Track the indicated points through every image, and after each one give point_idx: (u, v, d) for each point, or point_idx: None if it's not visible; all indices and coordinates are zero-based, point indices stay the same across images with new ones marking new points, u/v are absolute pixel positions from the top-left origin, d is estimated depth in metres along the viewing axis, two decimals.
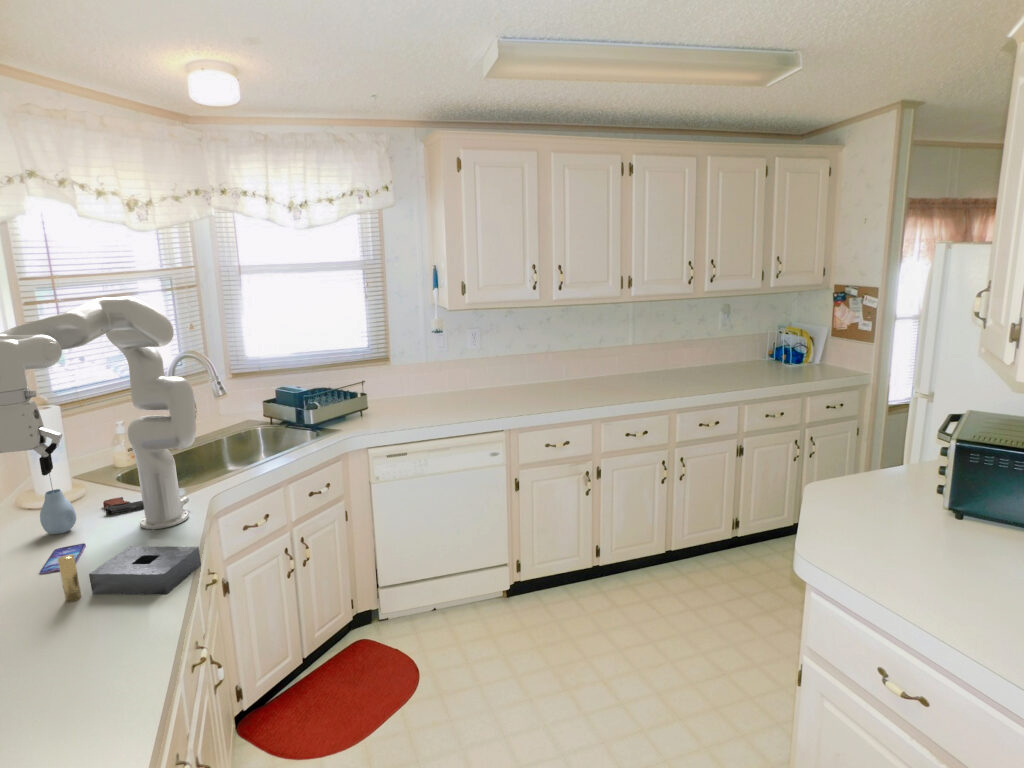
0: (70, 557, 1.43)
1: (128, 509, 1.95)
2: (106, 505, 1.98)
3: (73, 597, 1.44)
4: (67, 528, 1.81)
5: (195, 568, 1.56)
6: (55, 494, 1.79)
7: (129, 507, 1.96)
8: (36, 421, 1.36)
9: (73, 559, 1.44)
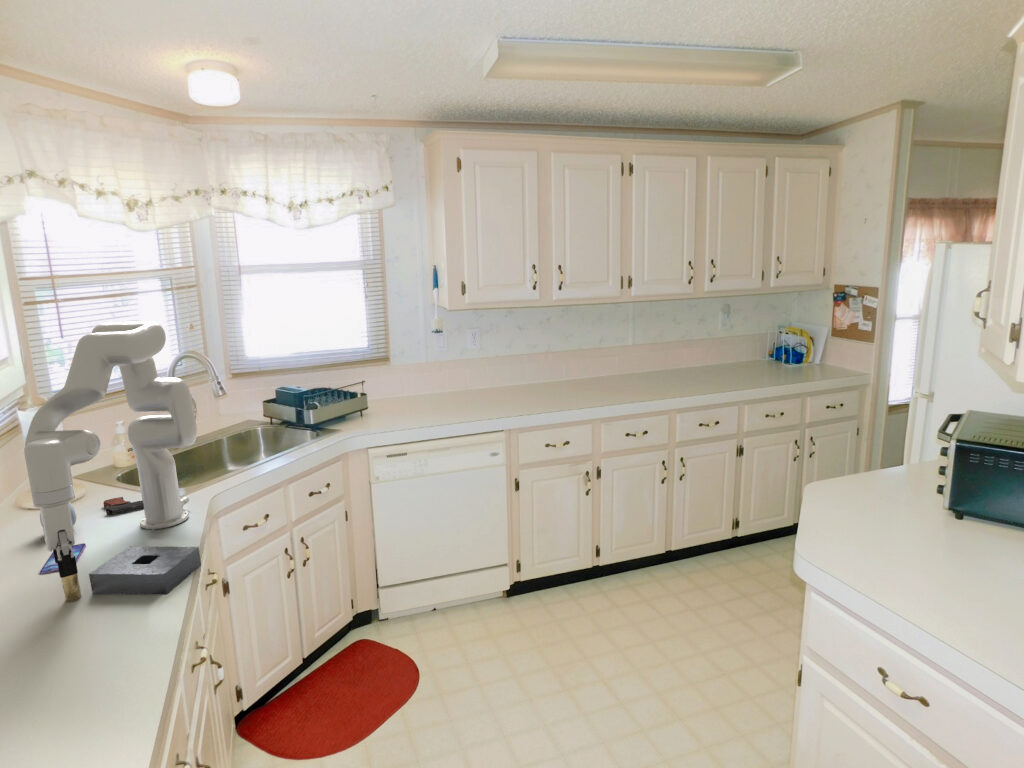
0: None
1: (129, 509, 1.95)
2: (106, 505, 1.98)
3: (73, 597, 1.44)
4: None
5: (195, 568, 1.56)
6: None
7: (130, 507, 1.96)
8: None
9: None
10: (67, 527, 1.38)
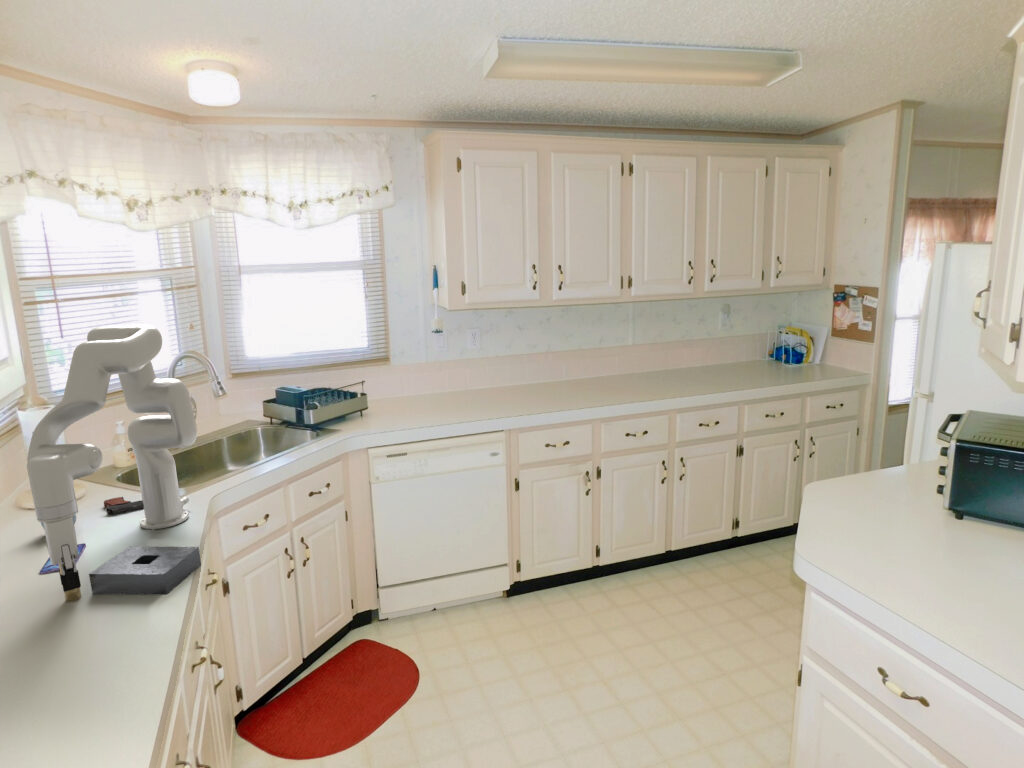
0: None
1: (129, 509, 1.96)
2: (107, 505, 1.98)
3: (73, 597, 1.44)
4: None
5: (195, 568, 1.56)
6: None
7: (130, 507, 1.96)
8: None
9: None
10: (71, 542, 1.39)
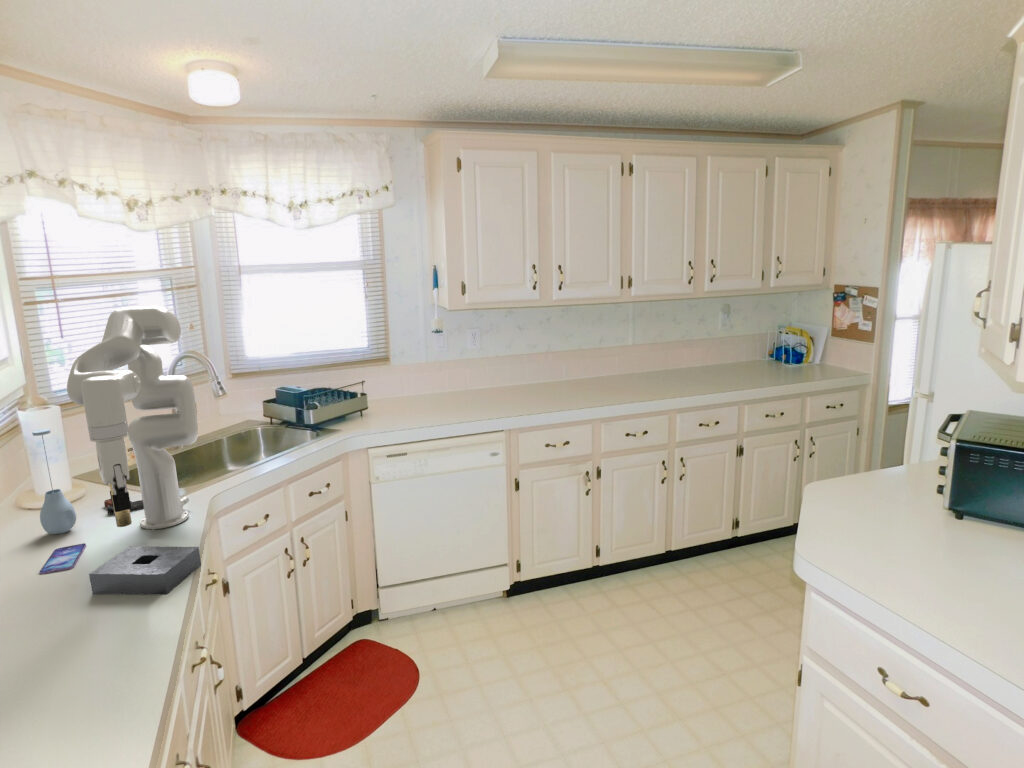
0: None
1: (130, 508, 1.96)
2: (107, 504, 1.98)
3: (124, 522, 1.47)
4: (67, 528, 1.81)
5: (195, 568, 1.56)
6: (55, 494, 1.79)
7: (131, 506, 1.96)
8: None
9: None
10: (123, 462, 1.42)
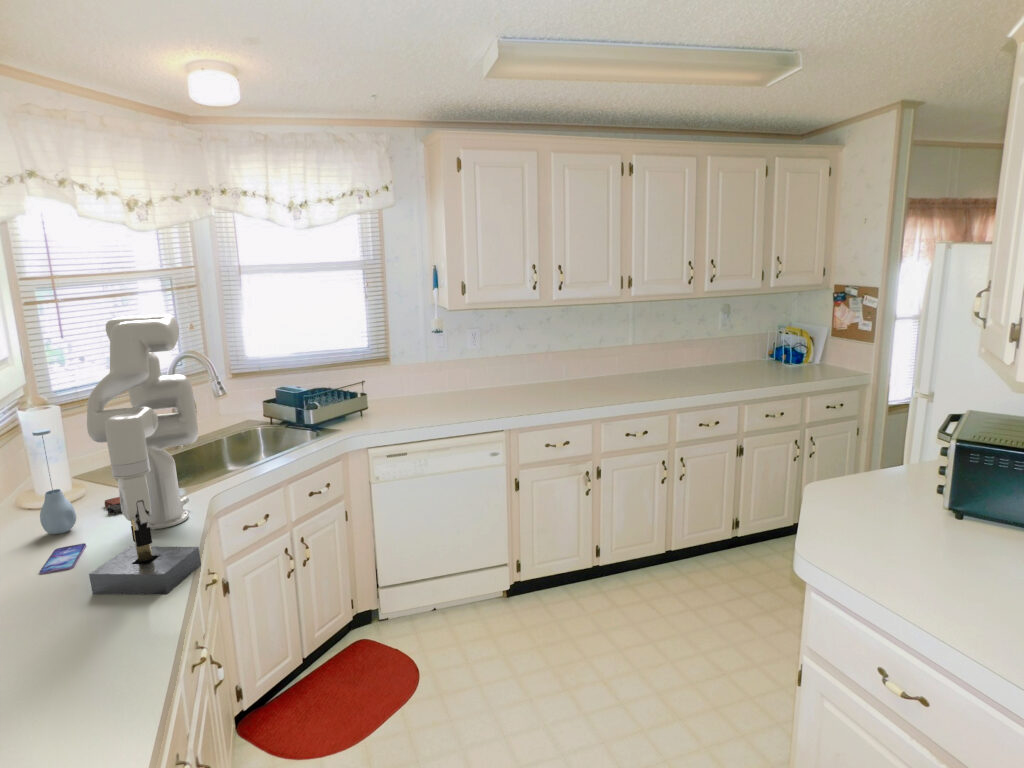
0: None
1: None
2: (108, 504, 1.99)
3: (146, 556, 1.50)
4: (67, 528, 1.81)
5: (195, 568, 1.56)
6: (55, 494, 1.79)
7: None
8: None
9: None
10: (145, 498, 1.46)
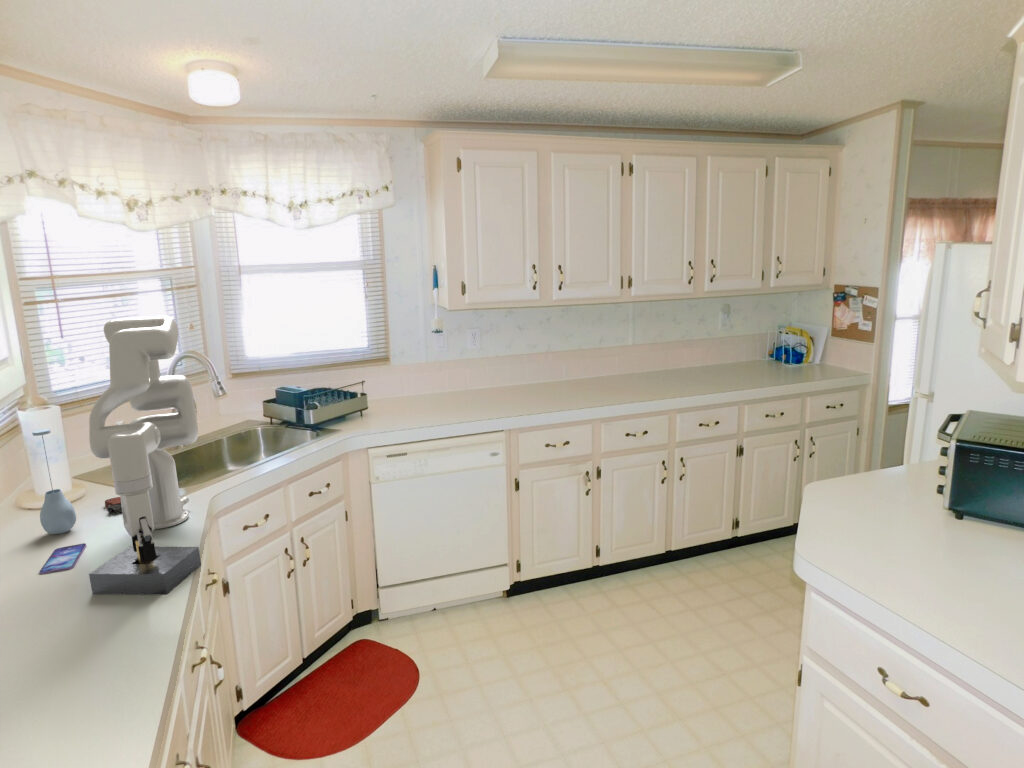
0: None
1: None
2: (108, 504, 1.99)
3: None
4: (67, 528, 1.81)
5: (195, 568, 1.56)
6: (55, 494, 1.79)
7: None
8: None
9: None
10: (148, 514, 1.47)
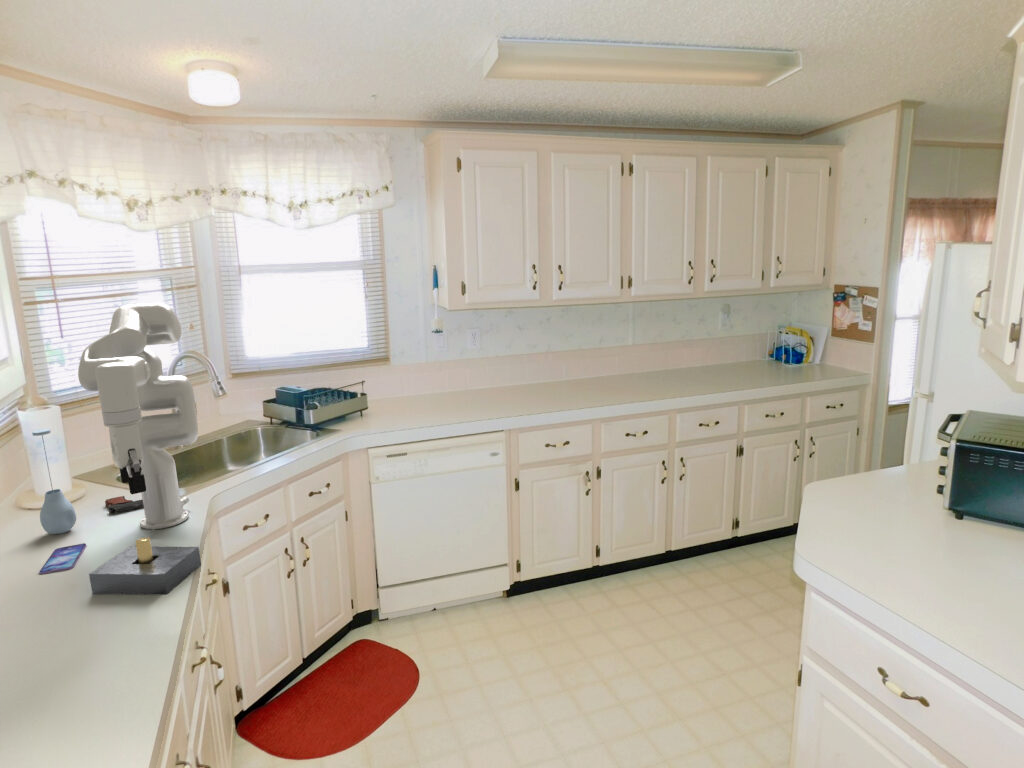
0: (146, 539, 1.51)
1: (131, 507, 1.96)
2: (108, 504, 1.99)
3: None
4: (67, 528, 1.81)
5: (195, 568, 1.56)
6: (55, 494, 1.79)
7: (132, 505, 1.97)
8: None
9: (149, 541, 1.51)
10: (137, 447, 1.45)
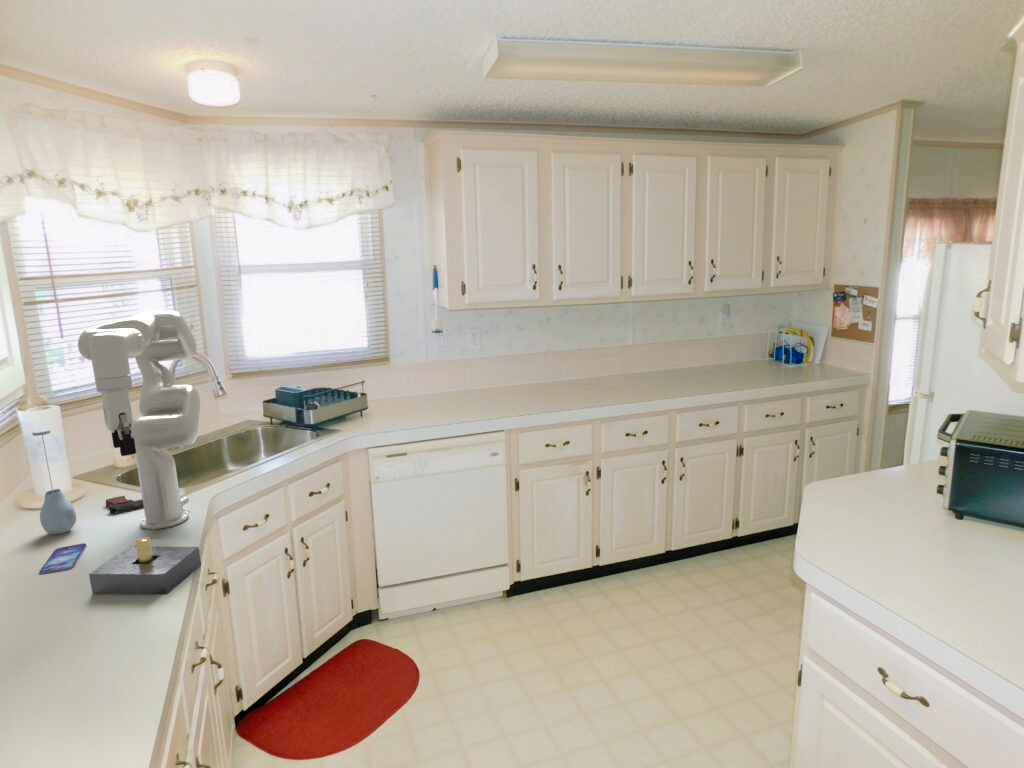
0: (146, 539, 1.51)
1: (132, 507, 1.97)
2: (109, 504, 1.99)
3: None
4: (67, 528, 1.81)
5: (195, 568, 1.56)
6: (55, 494, 1.79)
7: (133, 505, 1.97)
8: None
9: (149, 541, 1.51)
10: (127, 411, 1.55)
